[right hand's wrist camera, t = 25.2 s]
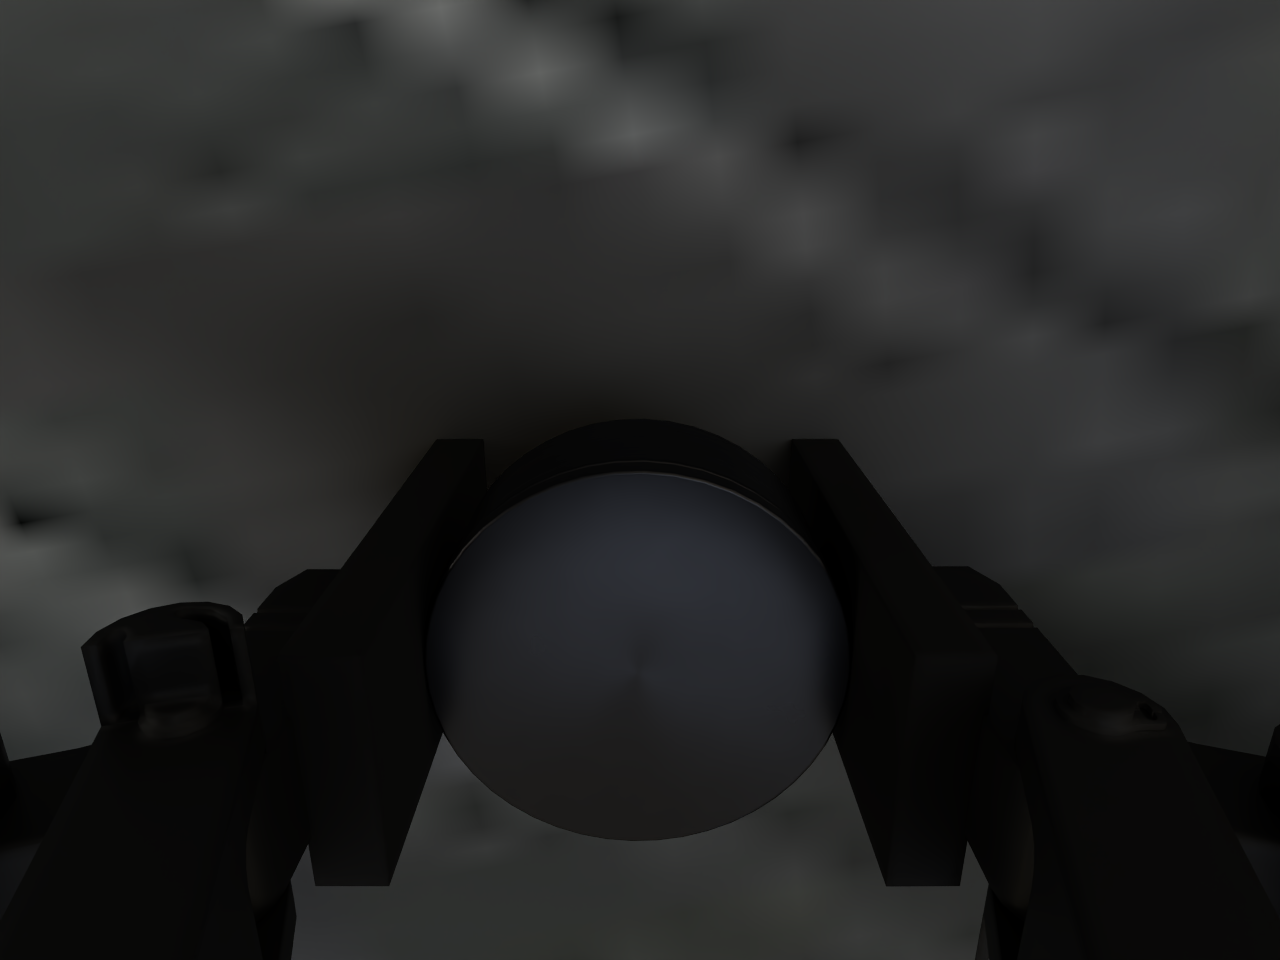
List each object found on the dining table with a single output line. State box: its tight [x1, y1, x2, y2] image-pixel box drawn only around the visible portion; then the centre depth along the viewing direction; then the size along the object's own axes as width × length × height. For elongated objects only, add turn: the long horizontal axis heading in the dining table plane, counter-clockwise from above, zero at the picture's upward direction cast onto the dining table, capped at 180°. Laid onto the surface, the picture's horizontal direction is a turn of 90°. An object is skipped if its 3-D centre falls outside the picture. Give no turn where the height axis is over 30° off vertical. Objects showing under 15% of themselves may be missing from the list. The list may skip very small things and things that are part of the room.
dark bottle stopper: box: [424, 419, 852, 841], centre depth 11 cm, size 5×5×2 cm
